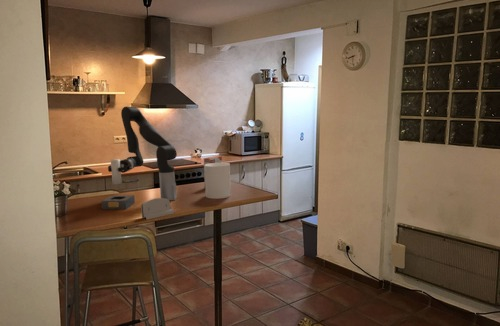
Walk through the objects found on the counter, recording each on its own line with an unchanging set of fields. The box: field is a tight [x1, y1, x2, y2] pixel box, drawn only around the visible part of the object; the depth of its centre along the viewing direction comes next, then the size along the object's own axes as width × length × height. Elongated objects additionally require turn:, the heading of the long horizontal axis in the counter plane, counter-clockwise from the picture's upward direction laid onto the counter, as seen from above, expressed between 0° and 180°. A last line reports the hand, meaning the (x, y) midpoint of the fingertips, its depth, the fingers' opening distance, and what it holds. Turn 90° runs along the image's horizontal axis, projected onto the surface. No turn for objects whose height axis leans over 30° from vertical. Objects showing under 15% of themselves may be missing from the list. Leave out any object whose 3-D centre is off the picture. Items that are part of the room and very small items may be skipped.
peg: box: [110, 158, 122, 186], centre depth 233 cm, size 5×5×14 cm
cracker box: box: [203, 155, 223, 182], centre depth 285 cm, size 14×6×21 cm, turn 147°
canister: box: [203, 162, 232, 200], centre depth 254 cm, size 16×16×20 cm
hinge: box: [140, 197, 175, 220], centre depth 213 cm, size 17×5×10 cm, turn 132°
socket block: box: [100, 194, 136, 210], centre depth 236 cm, size 14×14×5 cm
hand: (114, 170), depth 230 cm, fingers closed on peg, 5 cm apart
